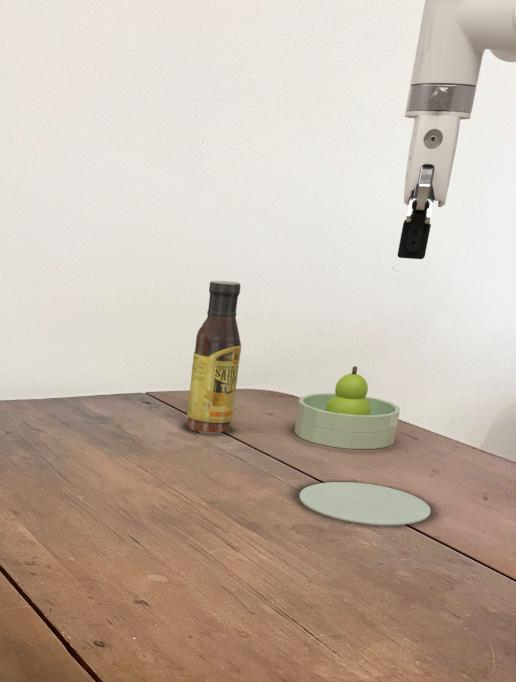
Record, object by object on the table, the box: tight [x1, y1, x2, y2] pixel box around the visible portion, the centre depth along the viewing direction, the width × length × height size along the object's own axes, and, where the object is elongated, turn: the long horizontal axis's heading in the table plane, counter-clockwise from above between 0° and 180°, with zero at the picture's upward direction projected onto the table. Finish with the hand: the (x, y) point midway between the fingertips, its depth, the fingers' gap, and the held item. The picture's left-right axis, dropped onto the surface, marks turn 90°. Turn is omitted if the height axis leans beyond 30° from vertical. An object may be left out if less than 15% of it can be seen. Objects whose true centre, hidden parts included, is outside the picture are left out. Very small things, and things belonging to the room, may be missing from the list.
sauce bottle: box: [186, 280, 242, 434], centre depth 125 cm, size 7×6×20 cm
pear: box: [325, 365, 371, 415], centre depth 124 cm, size 6×6×10 cm
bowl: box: [293, 392, 401, 450], centre depth 126 cm, size 13×13×5 cm
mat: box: [299, 481, 432, 526], centre depth 102 cm, size 14×14×1 cm
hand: (410, 255), depth 118 cm, fingers open, 9 cm apart
